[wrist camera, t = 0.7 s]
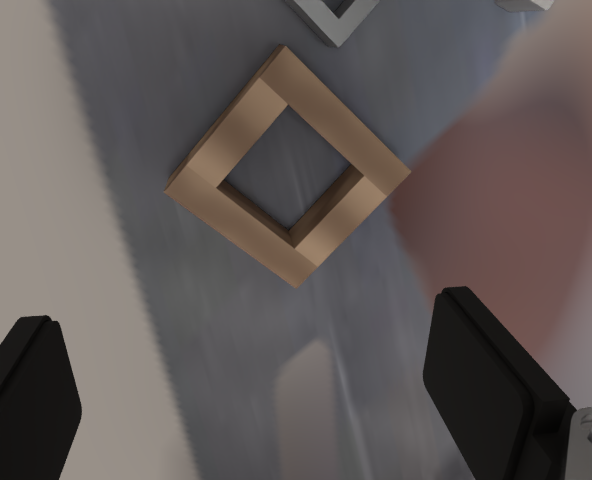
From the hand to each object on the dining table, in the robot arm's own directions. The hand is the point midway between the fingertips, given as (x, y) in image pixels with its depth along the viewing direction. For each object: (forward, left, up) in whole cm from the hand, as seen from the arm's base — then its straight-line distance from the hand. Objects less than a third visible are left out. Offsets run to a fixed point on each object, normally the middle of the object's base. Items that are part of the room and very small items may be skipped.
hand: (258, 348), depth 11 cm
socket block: (-1, +5, -26) cm, 26 cm away
